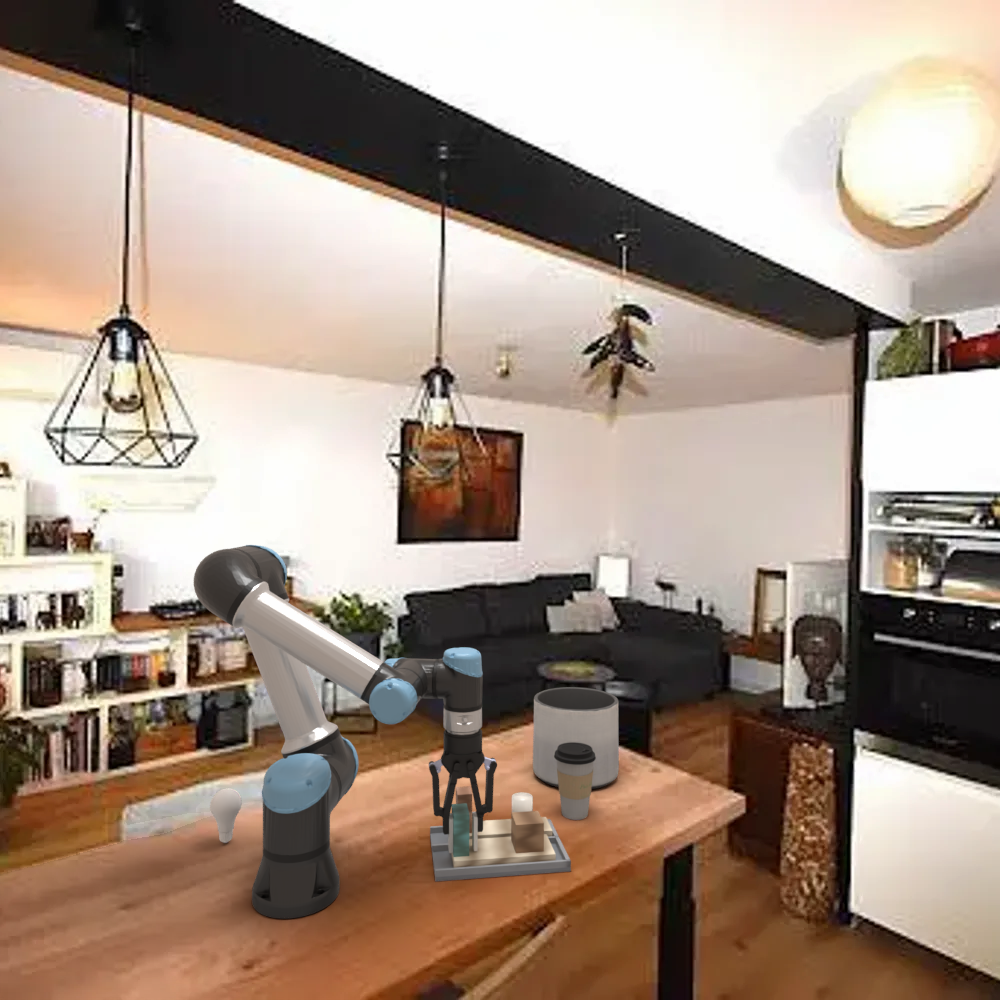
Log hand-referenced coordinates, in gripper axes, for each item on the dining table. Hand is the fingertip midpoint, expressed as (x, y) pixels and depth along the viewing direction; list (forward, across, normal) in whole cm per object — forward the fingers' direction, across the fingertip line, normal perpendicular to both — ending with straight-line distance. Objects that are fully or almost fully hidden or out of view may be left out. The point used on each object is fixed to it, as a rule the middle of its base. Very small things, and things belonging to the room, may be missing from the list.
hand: (462, 848), depth 139 cm
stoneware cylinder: (0, +13, +9) cm, 16 cm away
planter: (+4, +33, +41) cm, 53 cm away
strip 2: (+3, +8, 0) cm, 8 cm away
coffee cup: (+4, +27, +19) cm, 33 cm away
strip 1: (+2, +9, +9) cm, 13 cm away
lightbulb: (+3, -48, +16) cm, 50 cm away
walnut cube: (0, +13, 0) cm, 13 cm away
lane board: (+3, +7, +4) cm, 9 cm away
